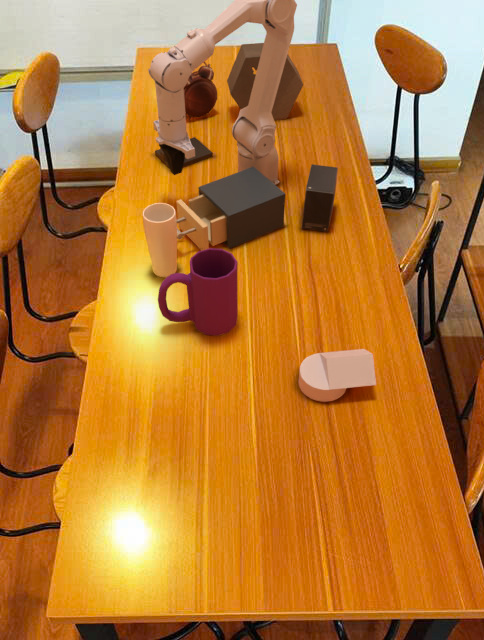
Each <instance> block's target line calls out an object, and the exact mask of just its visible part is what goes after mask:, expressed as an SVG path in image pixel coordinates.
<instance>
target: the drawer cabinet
mask: <svg viewBox="0 0 484 640" xmlns="http://www.w3.org/2000/svg"><path fill="white" fill-rule="evenodd" d="M202 194H203V195H204V196H205V197H206V198H207V199H208V200H209V201H210V202H211V203H212V204H213V205H215V206H216V207H217V208H218V209H219V210H220V211H221V212H222V213H223V214H224V215H225V216H226V217H227V241H224V242H222V243H223V244H224V245H225V246H226V248H228V249H229V250H230V249H233V248H234V247H237V246H239V245H242V244H244V243H247V242H249V241H252V240H254V239H256V238H259V237H262V236H264V235H267V234H269V233H271V232H273V231H276V230H279V229H281V228H283V227H284V225H285V208H286V192H284V191H283V190H282V189H281V188H280V187H278V186H277V184H276V185H275V184H274V183H272V182H271V181H270V180H269V179H268V178H266V177H265V176H264V175H263V174H262V173H260V172H259V171H258V170H257V169H256V168H255V167H251V168H248V169H246V170H243V171H240V172H238V171H237V172H234V173H231V174H230V175H227V176H224V177H221V178H219V179H216V180H213V181H211V182H207V183H205V184H203V185H199V186H198V196H200V195H202Z"/></svg>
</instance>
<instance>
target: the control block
mask: <svg viewBox="0 0 484 640" xmlns="http://www.w3.org/2000/svg"><path fill="white" fill-rule="evenodd" d="M190 141H191V144H192V146H193V147H194V148H195V157H192V158H189V159H186V158H185V160H184V164H183V168H185V167H187V166H190V165H193V164H197V163H199V162H202V161H204V160H208V159H210V158H213V152H212V150H211V149H210V148H208V147H207V146H206V145H204V144H203V143H202V142H201V140H199V139H198V138H197V137H195V136H193V137H191V138H190ZM154 155H155V156H156V157H157V158H158V159H159V160H160V161H161V162H162V163H163V164H164V165H166V167H167V168H168V169H170V168H169V165H168V162H167V159H166V157H165V154H164V153H163V151H162V149H161V148H160V147H159V148H158V149H156V150H154Z"/></svg>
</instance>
